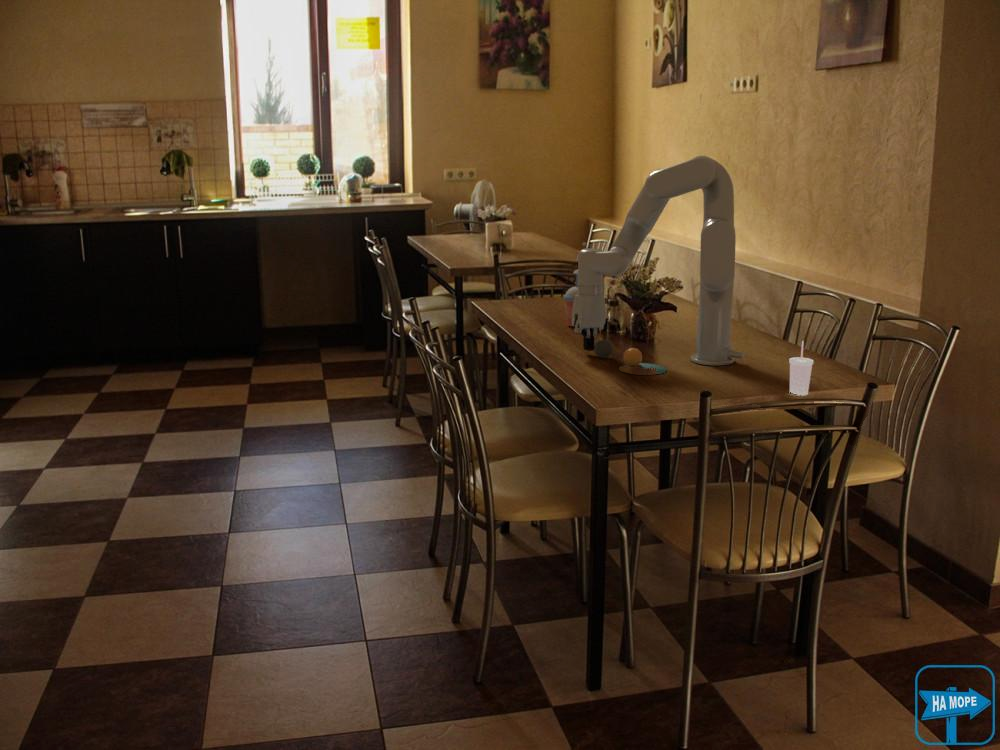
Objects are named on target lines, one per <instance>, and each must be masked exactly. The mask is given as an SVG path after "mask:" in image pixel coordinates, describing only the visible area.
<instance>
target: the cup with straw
mask: <svg viewBox="0 0 1000 750" xmlns="http://www.w3.org/2000/svg"><path fill="white" fill-rule="evenodd" d="M575 282H576V284H575V286H576V287H574V286H571V287H570V288H569V289H567V291H566V293H565V294H564V295H563V300H564V301H565V303H564V304H565V305H564V306H565V307H564V308H565V317H566V326H567V325H568V326H572V311H573V303H574V299H575V295H578V274H575ZM568 326H567V327H568Z"/></svg>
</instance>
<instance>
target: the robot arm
mask: <svg viewBox="0 0 1000 750" xmlns="http://www.w3.org/2000/svg"><path fill="white" fill-rule="evenodd" d="M700 189H701V191H702V194H703V221H702V222H703V224H702V228H701V232H700V252H699V254H700V256H699V258H700V262H699V263H700V264H699V266H700V267H699V280H700V281H699V295H698V297H699V298H698V299H699V300H698V313H697V315H698V317H697V330H696V332H697V333H696V347H695V348H696V349H695V351H696V352H695V353H693V354H691V355H690V360H691V362H694V363H695V364H700V365H705V366H727V365H731V364H733V363H734V362H735V358H736V359H739V360H740V359H741V360H743V359H744V355H745V352H742V351H741V350H734V349H733V345H731V344H730V342H731V330H732V328H731V326H732V314H733V313H732V312H733V299H734V282H735V276H736V275H735V272H736V271H735V270H736V242H737V241H736V239H737V238H736V235H737V234H736V229H735V194H734V184H733V181H732V178H731V176H730V174H729V172H728V170H727V169H726V168H725V167H724V166H723V165H722V164H721V163H720V162H718V161H717V160H715V159H713V158H712V157H710V156H706V155H697V156H695V157H692V159H689V160H686V161H683V162H681V163H677V164H674V165H671V166H668V167H664V168H658V169H655V170H654V171H652V172H650V173H649V174H648V176H647V177H646V178H645V182H644V184H643V186H642V187H641V189H640V191H639V193H638V195H637V197H636V198H635V200H634V201H633V203H632V205H631V207H630V209H629V211H628V212H627V213H626V217H625V220H624V223H623V226H622V227H621V230H620V231H619V233H618V235H617V236H616V239H615V240H614V242H613V243H612V245H611V247H610V249H609V250H608V251H605V250H604V251H603V250H602V249H599V248H585V249H584V248H583V249H581V250H580V251H578V256H577V257H578V260H577V262H578V263H577V264H578V265H577V269H578V295H575V299H574V303H573V311H572V326H574V327H575V328H574V330H573V332H574V333H578V334H581V337H583V342H582V343H583V345H582V346H583V350H585V351H588V352H592V351H593V352H594V346H595V338H596V337H597V334H598V333H599V332H600V331H602V330H604V329H605V324H606V321H607V320H606V318H607V316H606V315H607V313H606V310H607V309H606V307H607V306H606V299H605V295H604V293H603V292H604V290H605V288H606V285H604V275H606V276H613V277H617V276H622V275H623V274H625V272H626V271H627V270H628V268H629V267H630V265H631V263H632V262H633V260H634V258H635V257H636V254H637V253H638V251H639V249H640V248H641V246H642V244H643V242H644V241H645V239H646V238H647V236H648V235H649V234H650V233H651V232H652V230H653V228H654V227H655V225H656V223H657V221H658V220H659V219H660V216H661V215H662V213H663V211H664V210H665V208H666V206H667V205H668V203H669V201H670V200H671V199H672V198H676V197H680V196H683V195H685V194H688V193H691V192H695V191H697V190H700Z"/></svg>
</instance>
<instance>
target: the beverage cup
mask: <svg viewBox="0 0 1000 750" xmlns="http://www.w3.org/2000/svg"><path fill="white" fill-rule="evenodd" d="M804 341H805V340H802V341H801V348H800V349H801V350H800V356H798V357H797V356H794V357H790V358H789V359H788V363H789V393H790V392H791V393H793V394H797V395H796V396H800V395H801V397H802V396H807V395H808V394H809V390H810V383H811V375H812V369H813V366H814V359H812V358H809V357H804V356H803V355H804V346H805V345H804V344H805V343H804ZM793 394H792V395H793Z"/></svg>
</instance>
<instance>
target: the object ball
mask: <svg viewBox="0 0 1000 750" xmlns="http://www.w3.org/2000/svg"><path fill="white" fill-rule="evenodd" d="M622 359H623V362H624V364H626V365H628V366H630V367H635V366H638V365H639V364H640V363H642V361H643V354H642V352H641V351H640V350H639V349H638V348H635V347H629V348H627V349H626V350H625V351H624V352H623V355H622Z"/></svg>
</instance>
